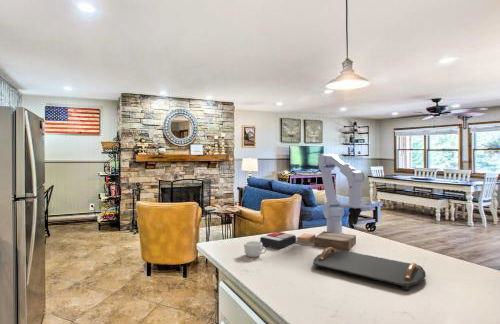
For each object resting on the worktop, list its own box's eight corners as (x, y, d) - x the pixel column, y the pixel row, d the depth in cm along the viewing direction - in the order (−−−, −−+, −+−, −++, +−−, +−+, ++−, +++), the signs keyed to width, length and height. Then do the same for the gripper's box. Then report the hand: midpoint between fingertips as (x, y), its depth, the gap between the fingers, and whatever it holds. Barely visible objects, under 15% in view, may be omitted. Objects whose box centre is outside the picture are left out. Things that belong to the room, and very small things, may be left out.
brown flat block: (323, 239, 165) (323, 231, 165) (355, 243, 157) (355, 235, 157) (314, 245, 153) (314, 237, 153) (348, 250, 145) (348, 242, 145)
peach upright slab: (315, 234, 165) (315, 238, 165) (304, 233, 168) (304, 237, 168) (309, 238, 157) (309, 242, 157) (297, 237, 160) (297, 241, 160)
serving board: (430, 275, 117) (431, 258, 117) (416, 297, 99) (417, 277, 99) (331, 254, 142) (331, 240, 141) (305, 269, 124) (305, 253, 123)
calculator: (296, 234, 159) (279, 239, 147) (296, 243, 159) (278, 249, 147) (277, 230, 166) (259, 235, 154) (277, 239, 166) (259, 244, 154)
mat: (301, 235, 173) (301, 234, 173) (323, 238, 166) (323, 237, 166) (289, 242, 159) (289, 241, 159) (312, 246, 153) (312, 245, 153)
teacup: (240, 256, 137) (240, 244, 137) (249, 252, 144) (249, 240, 143) (261, 260, 132) (261, 247, 132) (270, 255, 138) (270, 243, 138)
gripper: (337, 195, 155) (337, 223, 155) (369, 197, 148) (369, 227, 148) (341, 194, 161) (341, 221, 161) (372, 196, 154) (372, 224, 154)
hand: (355, 224), depth 155 cm, fingers closed
